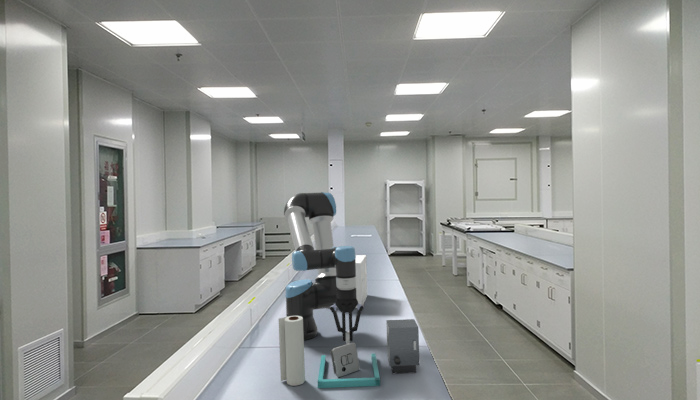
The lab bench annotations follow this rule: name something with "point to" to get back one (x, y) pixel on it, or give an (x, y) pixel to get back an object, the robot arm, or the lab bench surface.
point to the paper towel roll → (292, 350)
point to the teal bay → (350, 381)
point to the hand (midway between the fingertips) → (348, 349)
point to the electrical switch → (345, 359)
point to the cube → (361, 279)
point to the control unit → (403, 345)
